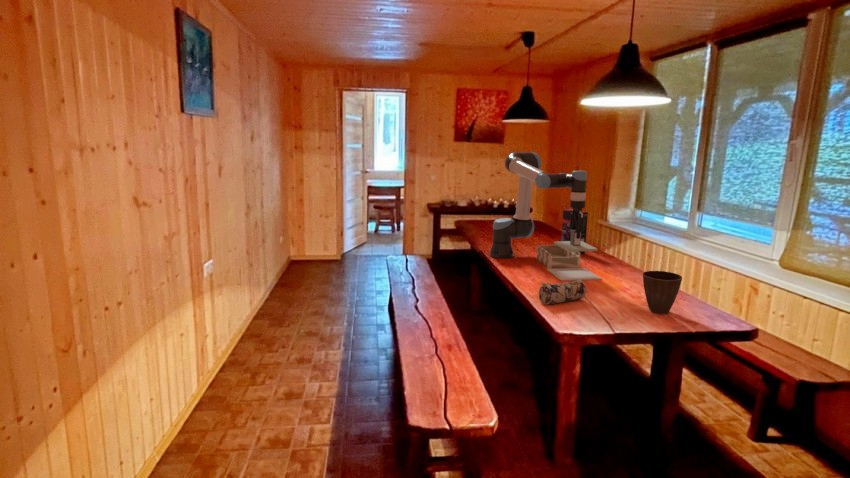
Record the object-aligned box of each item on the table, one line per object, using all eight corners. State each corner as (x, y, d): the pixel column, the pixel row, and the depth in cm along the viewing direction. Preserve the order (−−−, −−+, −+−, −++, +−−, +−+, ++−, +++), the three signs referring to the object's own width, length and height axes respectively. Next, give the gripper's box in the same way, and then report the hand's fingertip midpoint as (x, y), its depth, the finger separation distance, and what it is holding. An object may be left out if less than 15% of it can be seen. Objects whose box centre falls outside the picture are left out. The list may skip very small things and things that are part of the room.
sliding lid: (553, 243, 267) (554, 227, 265) (581, 243, 268) (582, 226, 266) (567, 251, 247) (568, 234, 245) (597, 250, 249) (598, 233, 247)
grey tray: (560, 280, 249) (561, 279, 249) (546, 269, 270) (546, 268, 270) (601, 279, 251) (601, 278, 251) (584, 268, 273) (584, 267, 272)
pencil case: (548, 307, 210) (550, 286, 208) (536, 301, 217) (538, 281, 215) (587, 301, 218) (589, 280, 216) (574, 295, 226) (576, 275, 224)
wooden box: (536, 259, 294) (537, 245, 292) (565, 258, 295) (565, 244, 293) (549, 268, 272) (549, 253, 270) (579, 268, 274) (580, 253, 272)
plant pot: (640, 314, 201) (644, 278, 198) (638, 303, 214) (641, 269, 211) (680, 319, 196) (684, 281, 192) (675, 307, 209) (679, 272, 206)
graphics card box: (559, 249, 322) (562, 208, 317) (567, 248, 325) (570, 208, 319) (577, 254, 307) (580, 212, 301) (586, 253, 310) (588, 211, 304)
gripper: (591, 202, 245) (588, 246, 249) (578, 198, 261) (575, 240, 266) (577, 202, 244) (574, 247, 249) (564, 198, 261) (562, 240, 265)
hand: (575, 243), depth 257 cm, fingers closed on sliding lid, 4 cm apart
